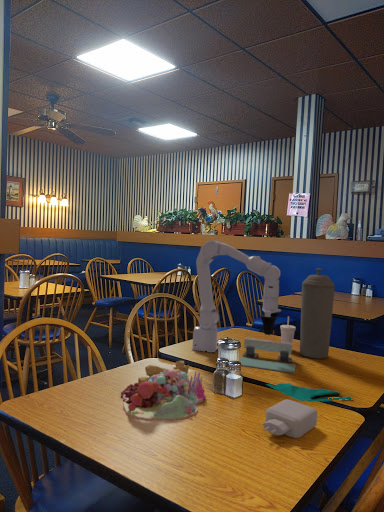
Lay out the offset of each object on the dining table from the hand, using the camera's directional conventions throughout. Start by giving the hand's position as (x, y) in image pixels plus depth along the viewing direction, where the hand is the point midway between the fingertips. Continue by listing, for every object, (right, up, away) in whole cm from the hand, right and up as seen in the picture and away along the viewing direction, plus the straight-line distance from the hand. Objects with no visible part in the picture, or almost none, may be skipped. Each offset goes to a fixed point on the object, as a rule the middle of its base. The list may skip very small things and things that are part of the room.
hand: (268, 332), depth 156 cm
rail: (0, -7, 0) cm, 7 cm away
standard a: (-7, -9, +2) cm, 12 cm away
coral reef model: (-37, -11, -44) cm, 59 cm away
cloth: (+5, -13, -34) cm, 37 cm away
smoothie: (+10, -10, +14) cm, 20 cm away
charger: (-7, -13, -59) cm, 61 cm away
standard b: (+6, -10, -1) cm, 12 cm away
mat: (-4, -10, -9) cm, 14 cm away
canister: (+19, -11, +7) cm, 23 cm away
